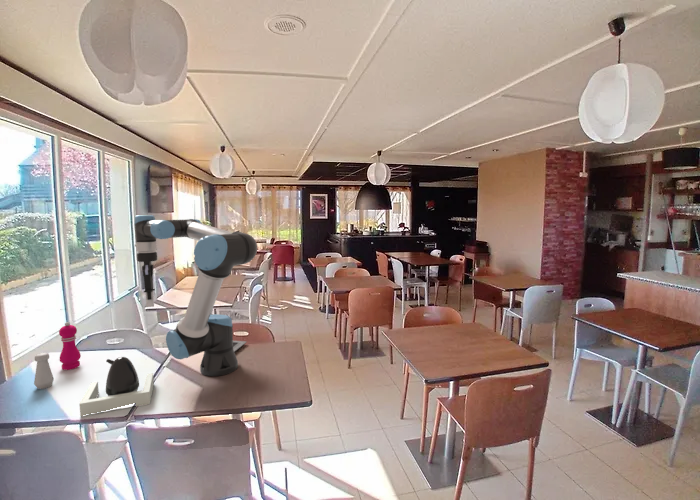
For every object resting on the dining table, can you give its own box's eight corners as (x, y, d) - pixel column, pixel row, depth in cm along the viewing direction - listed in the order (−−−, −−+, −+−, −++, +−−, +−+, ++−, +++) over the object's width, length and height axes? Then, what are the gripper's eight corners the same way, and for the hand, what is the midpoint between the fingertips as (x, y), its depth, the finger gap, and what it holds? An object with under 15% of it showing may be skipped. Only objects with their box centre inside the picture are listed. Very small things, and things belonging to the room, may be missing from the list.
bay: (92, 394, 134) (91, 382, 134) (153, 384, 142) (153, 373, 142) (80, 416, 120) (79, 403, 119) (149, 404, 128) (149, 391, 127)
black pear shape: (119, 390, 137) (116, 351, 135) (145, 391, 136) (143, 352, 135) (98, 405, 127) (95, 362, 125) (127, 406, 126) (124, 363, 125)
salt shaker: (32, 391, 136) (29, 358, 135) (37, 385, 141) (33, 352, 140) (52, 388, 139) (49, 355, 137) (56, 381, 144) (53, 350, 142)
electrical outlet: (234, 355, 171) (233, 350, 171) (213, 354, 173) (213, 349, 173) (246, 345, 184) (246, 341, 184) (227, 344, 186) (227, 339, 186)
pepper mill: (56, 369, 155) (52, 323, 153) (74, 362, 162) (70, 318, 160) (67, 372, 153) (63, 325, 150) (85, 365, 159) (81, 320, 157)
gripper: (138, 250, 159) (142, 303, 161) (134, 253, 147) (138, 311, 149) (158, 249, 162) (161, 302, 164) (155, 252, 150) (159, 309, 152)
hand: (150, 306), depth 157 cm, fingers closed
